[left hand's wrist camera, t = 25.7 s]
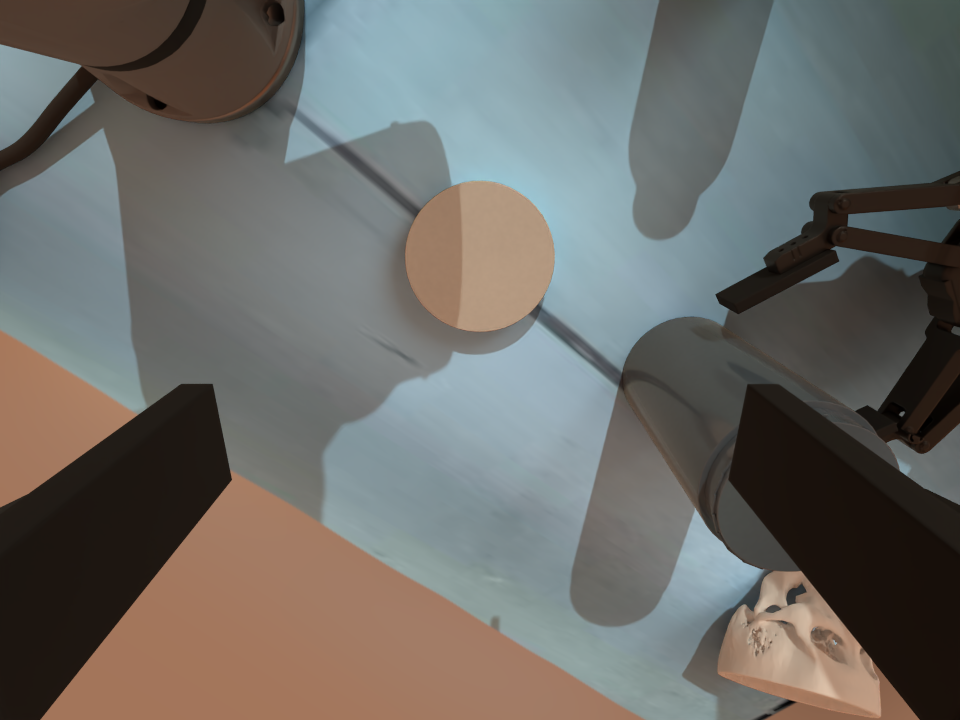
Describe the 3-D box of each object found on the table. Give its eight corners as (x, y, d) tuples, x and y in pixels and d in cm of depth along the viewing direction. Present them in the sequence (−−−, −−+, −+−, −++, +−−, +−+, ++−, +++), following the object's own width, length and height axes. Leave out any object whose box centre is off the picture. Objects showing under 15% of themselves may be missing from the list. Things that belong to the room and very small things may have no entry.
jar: (662, 296, 40) (788, 383, 24) (766, 346, 41) (951, 460, 25) (600, 400, 43) (673, 540, 27) (699, 443, 44) (824, 600, 28)
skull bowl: (891, 575, 47) (930, 732, 40) (764, 596, 58) (776, 723, 50) (806, 531, 46) (830, 687, 38) (691, 561, 56) (692, 687, 49)
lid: (429, 338, 41) (427, 345, 39) (390, 200, 37) (386, 202, 36) (562, 308, 40) (566, 314, 38) (536, 164, 36) (539, 164, 35)
